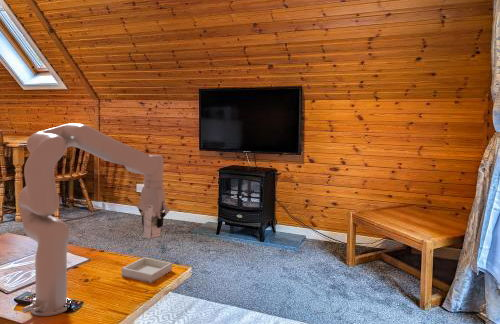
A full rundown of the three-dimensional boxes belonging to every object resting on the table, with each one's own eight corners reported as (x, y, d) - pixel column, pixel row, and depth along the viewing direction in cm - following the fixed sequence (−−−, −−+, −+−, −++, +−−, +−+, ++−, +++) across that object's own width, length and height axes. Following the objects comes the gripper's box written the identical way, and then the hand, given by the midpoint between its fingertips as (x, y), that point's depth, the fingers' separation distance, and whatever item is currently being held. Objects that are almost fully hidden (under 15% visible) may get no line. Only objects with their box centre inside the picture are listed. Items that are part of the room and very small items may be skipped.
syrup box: (153, 233, 168) (154, 200, 167) (161, 236, 165) (163, 203, 163) (142, 236, 164) (143, 202, 162) (150, 239, 160) (151, 205, 159)
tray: (151, 283, 157) (151, 274, 157) (121, 276, 163) (121, 268, 162) (171, 270, 171) (172, 263, 171) (144, 264, 177) (144, 257, 176)
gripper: (130, 183, 162) (129, 224, 164) (165, 187, 155) (164, 231, 157) (142, 181, 169) (141, 221, 170) (176, 185, 162) (174, 226, 164)
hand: (152, 225), depth 164 cm, fingers closed on syrup box, 7 cm apart
